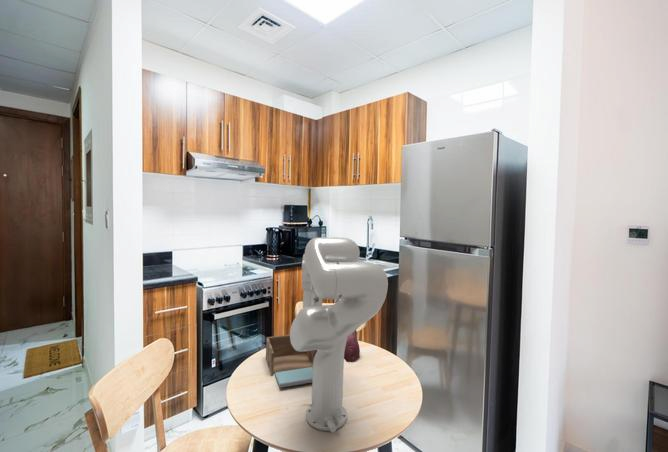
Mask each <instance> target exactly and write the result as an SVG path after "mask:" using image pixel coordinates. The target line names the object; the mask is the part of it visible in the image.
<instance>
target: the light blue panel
mask: <svg viewBox="0 0 668 452" xmlns="http://www.w3.org/2000/svg"><path fill="white" fill-rule="evenodd" d="M312 373H313V367H309V368H302V369H296V370H289V371H282V372H276V373H275V374H274V377H275V379H276V381H277V383H278V386H279V388H287V387H291V386H298V385H299V386H300V385H304V384H309V383H311V384H312Z"/></svg>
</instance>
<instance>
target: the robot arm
mask: <svg viewBox="0 0 668 452" xmlns="http://www.w3.org/2000/svg"><path fill="white" fill-rule="evenodd" d="M360 255H361V253H360V247H359V245H358V244H357V242H355V241H354V240H352V239H350V238H348V237H347V238H346V237H314V238H312V239H310V240H309V241H308V242H307V243H306V246H305V249H304V253H303V255H302V262H301V274H302V276H301V277H302V278H301V290H302V291H303V293H302V296H303V297H302V308H301V309H300V310H299V311H298V313H296V316H295V318H294V319H293V321H292V323H291V326H290V330H289V335H290V341H291V344H292V346H293V348H294V349H295V350H296V351H299V352H304V351H312V350H318V351H317V353H316V355H315V357H314V360H313V373H312V382H311V405H310V406H309V407H307V409H306V413H305V419H306V422H307V423H308V424H309V425H310V426H311V427H312V428H313V429H316V430H318V431H324V432H325V431H326V432H330V433H335V432H336V431H337V430H338V429H340V428H341V427H343V426H344V425H345V423H346V422H347V419H348V413H347V410H346V409H345V407H344V406H343V398H344V397H343V391H344V366H345V364H344V363H345V359H344V352H345V346H346V341H347V336H349V335H350V334H351V333H352V332H354V331H355V330H356V331H357V329H358V328H359V327H361V326H362V325H364V324H366V323H367V322H369V321H370V320H371V319H372V318H373V317H375V316H376V315H377V314H378V312H379V311H380V310H381V309H382V307H383V304H384V303H385V300H386V298H387V294H388V286H389V281H388V276H387V273H386V272H385V271H386V270H384V269H383V268H382V267H381V266H380V265H378V264H375V263H372V262H367V261H358V260H359V258H360ZM323 300H337V301H336V302H335V303H334V304H326V305H323Z"/></svg>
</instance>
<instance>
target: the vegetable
mask: <svg viewBox="0 0 668 452" xmlns="http://www.w3.org/2000/svg"><path fill="white" fill-rule="evenodd" d="M360 350H361V348H360V344H359V340H358V336H357V329H356V330H355V331H354V332H352V333H351V334H350V335H349V336H347V341H346V346H345V352H344V361H345V362H347V363H353V362H356V361H358V360H359V359H360V355H361V354H360V353H361V351H360Z"/></svg>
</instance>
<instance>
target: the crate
mask: <svg viewBox="0 0 668 452" xmlns="http://www.w3.org/2000/svg"><path fill="white" fill-rule="evenodd" d="M265 338H266V339H265V359H266V360H265V361H266V363H267V365H268V370H269V373H270V377H274V375H275V373H276V372H282V371H289V370H296V369H302V368H309V367H313V360H314V357H315V355H316V353H317V351H318V350H312V351H304V352H299V351H296V350H295V349H294V348H293V346H292V344H291V341H290V334H285V335H276V336H267V337H265Z"/></svg>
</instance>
